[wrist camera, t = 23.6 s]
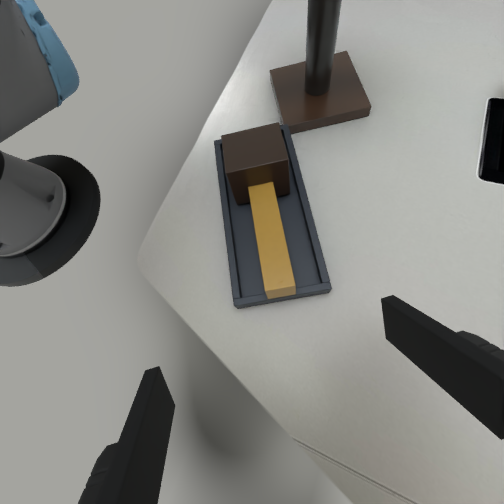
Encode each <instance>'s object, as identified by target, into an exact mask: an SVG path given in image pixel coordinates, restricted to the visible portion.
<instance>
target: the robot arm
mask: <svg viewBox="0 0 504 504" xmlns="http://www.w3.org/2000/svg"><path fill="white" fill-rule="evenodd" d="M78 86H79V76H78V73H77V70H76V68H75V66H74V64H73V62H72V60H71V58H70V56H69V54H68V53H67V51H66V49H65V48H64V46H63V44H62V43H61V41H60V39H59V38H58V36H57V35H56V33H55V31H54V30H53V28H52V27H51V26H50V24H49V23H48V22H47V21H46V20H45V19H44V16H43V14H42V13H41V11H40V10H39V8H38V6H37V5H36V3H35V1H34V0H0V143H1V142H2V141H4V140H5V139H7V138H8V137H10V136H12V135H13V134H15V133H16V132H18V131H19V130H21V129H23V128H24V127H25V126H27V125H29V124H30V123H32V122H33V121H35V120H37V119H38V118H40V117H41V116H43V115H44V114H46V113H48V112H49V111H51V110H52V109H54V108H56V107H59V106H60V105H61V104H62V101H64V100H65V99H66V98H67V97H69V96H70V95H71V94H73V93H74V92H75V91H76V90H77V88H78ZM69 206H70V191H69V188H68V186H67V184H66V182H65V181H64V180H63V179H62V178H60V177H59V176H58V175H56V174H55V173H54V172H52V171H50V170H48V169H46V168H44V167H42V166H39V165H36V164H33V163H31V162H28V161H25V160H22V159H20V158H17V157H14V156H12V155H9V154H6V153H4V152H2V151H0V258H17V257H21V256H24V255H27V254H29V253H31V252H33V251H35V250H36V249H38V248H40V247H41V246H42V245H44V244H45V243H46V242H47V241H48V240H50V239H51V238H52V237H53V236H54V234H55V233H56V232H57V231H58V229H59V228H60V227H61V225H62V224H63V222H64V220H65V218H66V216H67V213H68V210H69ZM381 303H382V311H383V319H384V327H385V335H386V339H387V340H388V341H389V342H390V343H391V344H393V345H394V346H395V347H396V348H397V349H398V350H399V351H401V352H402V353H403V354H404V355H405V356H406V357H407V358H409V359H410V360H411V361H412V362H413V363H414V364H415V365H416V366H418V367H419V368H420V369H421V370H422V371H423V372H424V373H426V374H427V375H428V376H429V377H430V378H431V379H432V380H434V381H435V382H436V383H437V384H438V385H439V386H440V387H442V388H443V389H444V390H445V391H446V392H447V393H448V394H449V395H451V396H452V397H453V398H454V399H455V400H456V401H457V402H459V403H460V404H461V405H462V406H463V407H464V408H465V409H467V410H468V411H469V412H470V413H471V414H472V415H473V416H475V417H476V418H477V419H478V420H479V421H480V422H481V423H482V424H484V425H485V426H486V427H487V428H488V429H489V430H490V431H492V432H493V433H494V434H495V435H496V436H497V437H498V438H500V439H501V440H502V439H504V350H500V348H499V347H497V346H495V345H493V344H490V343H489V342H488V341H486V340H484V339H483V338H481V337H479V336H477V335H474V334H471V333H468V332H465V331H460V332H457V333H456V332H454V331H452V330H451V329H449V328H447V327H446V326H444V325H442V324H441V323H439V322H437V321H436V320H434V319H432V318H431V317H429V316H427V315H426V314H424V313H422V312H421V311H419V310H417V309H416V308H414V307H412V306H411V305H409V304H407V303H406V302H404V301H402V300H401V299H399V298H397V297H396V296H394V295H392V296H388V297H385V298H382V299H381ZM174 409H175V404H174V401H173V399H172V396H171V394H170V391H169V389H168V387H167V384H166V382H165V380H164V377H163V374H162V372H161V369H160V367H159V366H158V367H155V368H152V369H149V370H146V371H145V373H144V375H143V378H142V380H141V383H140V386H139V388H138V391H137V394H136V396H135V399H134V402H133V404H132V407H131V410H130V412H129V415H128V417H127V420H126V423H125V425H124V428H123V431H122V433H121V436H120V439H119V441H118V442H117V443H114V444H111V445H108V446H107V447H106V448H105V449H104V451H103V452H102V453H101V455H100V456H99V457H98V459H97V461H96V463H95V465H94V467H93V470H92V472H91V476H90V477H89V479H88V482H87V484H86V488H85V489H84V491H83V493H82V495H81V498H80V500H79V502H78V504H157V503H158V498H159V493H160V487H161V481H162V475H163V470H164V465H165V459H166V454H167V448H168V443H169V437H170V431H171V426H172V420H173V415H174Z"/></svg>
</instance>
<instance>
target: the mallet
mask: <svg viewBox="0 0 504 504" xmlns="http://www.w3.org/2000/svg"><path fill="white" fill-rule="evenodd" d="M221 138H222V147H223V156H224V164H225V173H226V176H227V179H228V181H229V184H230V187H231V190H232V192H233V195H234V198H235V201H236V203H237V205H239V204H244V203H248V202H251V208H252V215H253V221H254V227H255V233H256V239H257V245H258V252H259V258H260V264H261V270H262V276H263V282H264V289H265V292H266V295H267V297H268V299H272V298H278V297H283V296H289V295H295V294H296V285H295V281H294V276H293V272H292V267H291V262H290V258H289V253H288V249H287V244H286V240H285V235H284V230H283V226H282V221H281V217H280V212H279V208H278V203H277V198H276V197H277V196H282V195H286V194H290V178H289V159H288V155H287V151H286V147H285V144H284V140H283V136H282V132H281V129H280V125H279V122H278V123H273V124H269V125H265V126H261V127H256V128H252V129H248V130H244V131H239V132H235V133H231V134H227V135H222V136H221Z"/></svg>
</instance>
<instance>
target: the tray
mask: <svg viewBox="0 0 504 504" xmlns="http://www.w3.org/2000/svg"><path fill="white" fill-rule="evenodd" d="M280 129H281V132H282V136H283V140H284V144H285V147H286V151H287V155H288V159H289V178H290V194H286V195H282V196H277V197H276V198H277V203H278V208H279V212H280V217H281V221H282V226H283V230H284V235H285V240H286V244H287V249H288V253H289V258H290V262H291V267H292V272H293V276H294V281H295V285H296V294H295V295H289V296H283V297H278V298H272V299H268V297H267V295H266V292H265V289H264V282H263V276H262V270H261V264H260V258H259V252H258V245H257V239H256V233H255V227H254V221H253V215H252V208H251V202H248V203H244V204H239V205H237V203H236V201H235V198H234V195H233V192H232V190H231V187H230V184H229V181H228V179H227V176H226V173H225V164H224V156H223V147H222V139H220V140H216V141H214V145H215V154H216V162H217V171H218V179H219V187H220V195H221V203H222V212H223V220H224V228H225V236H226V244H227V253H228V261H229V269H230V277H231V286H232V294H233V302H234V306H235V307H236V308H237V309H239V308H245V307H251V306H256V305H262V304H268V303H273V302H279V301H285V300H290V299H296V298H302V297H307V296H313V295H319V294H324V293H329V292H330V291H331V289H332V287H331V284H330V280H329V276H328V272H327V268H326V265H325V261H324V257H323V253H322V250H321V246H320V242H319V239H318V235H317V231H316V227H315V224H314V220H313V216H312V212H311V209H310V205H309V201H308V197H307V194H306V190H305V186H304V183H303V179H302V175H301V171H300V168H299V164H298V160H297V156H296V153H295V149H294V145H293V141H292V138H291V134H290V130H289V127H288V124H284V125H280Z"/></svg>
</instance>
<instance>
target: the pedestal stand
mask: <svg viewBox="0 0 504 504" xmlns="http://www.w3.org/2000/svg"><path fill="white" fill-rule="evenodd" d="M341 1H342V0H308V15H307V39H306V61H304V62H300V63H296V64H293V65H289V66H285V67H281V68H277V69H273V70H270V79H271V84H272V87H273V91H274V95H275V99H276V103H277V107H278V111H279V115H280V119H281V123H282V125H284V124H288V127H289V130H290V134H293V133H297V132H301V131H306V130H310V129H314V128H319V127H323V126H327V125H332V124H336V123H340V122H345V121H349V120H353V119H358V118H362V117H366V116H369V112H370V109H371V104H370V102H369V100H368V97H367V95H366V93H365V91H364V88H363V86H362V84H361V82H360V79H359V77H358V75H357V73H356V70H355V68H354V66H353V64H352V61H351V59H350V57H349V55H348V52H347V51H344V52H340V53H336V54H334V52H335V44H336V37H337V30H338V23H339V15H340V8H341Z"/></svg>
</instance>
